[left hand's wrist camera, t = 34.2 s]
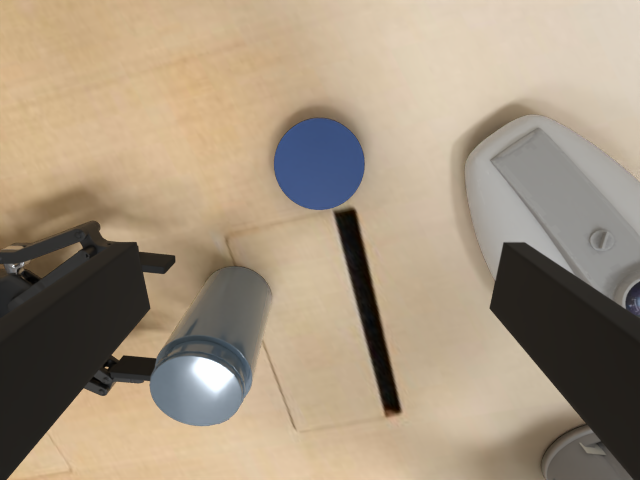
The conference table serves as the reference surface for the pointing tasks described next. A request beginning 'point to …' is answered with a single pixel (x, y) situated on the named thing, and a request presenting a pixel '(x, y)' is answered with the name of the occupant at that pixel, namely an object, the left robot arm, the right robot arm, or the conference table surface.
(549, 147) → the projector
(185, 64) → the conference table surface
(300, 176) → the lid
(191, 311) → the jar
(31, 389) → the left robot arm
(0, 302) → the right robot arm
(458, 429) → the conference table surface
